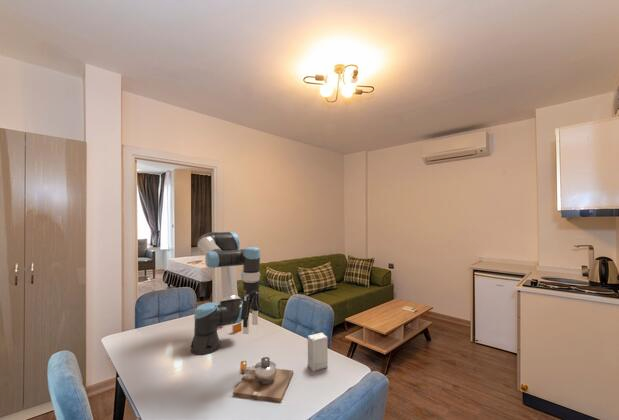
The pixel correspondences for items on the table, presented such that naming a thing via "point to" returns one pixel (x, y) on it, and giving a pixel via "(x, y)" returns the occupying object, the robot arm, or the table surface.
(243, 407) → the table surface
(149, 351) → the table surface
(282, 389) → the brown wooden board
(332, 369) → the table surface
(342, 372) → the table surface
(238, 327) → the whisky bottle
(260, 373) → the silver round pot
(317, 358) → the skincare box
